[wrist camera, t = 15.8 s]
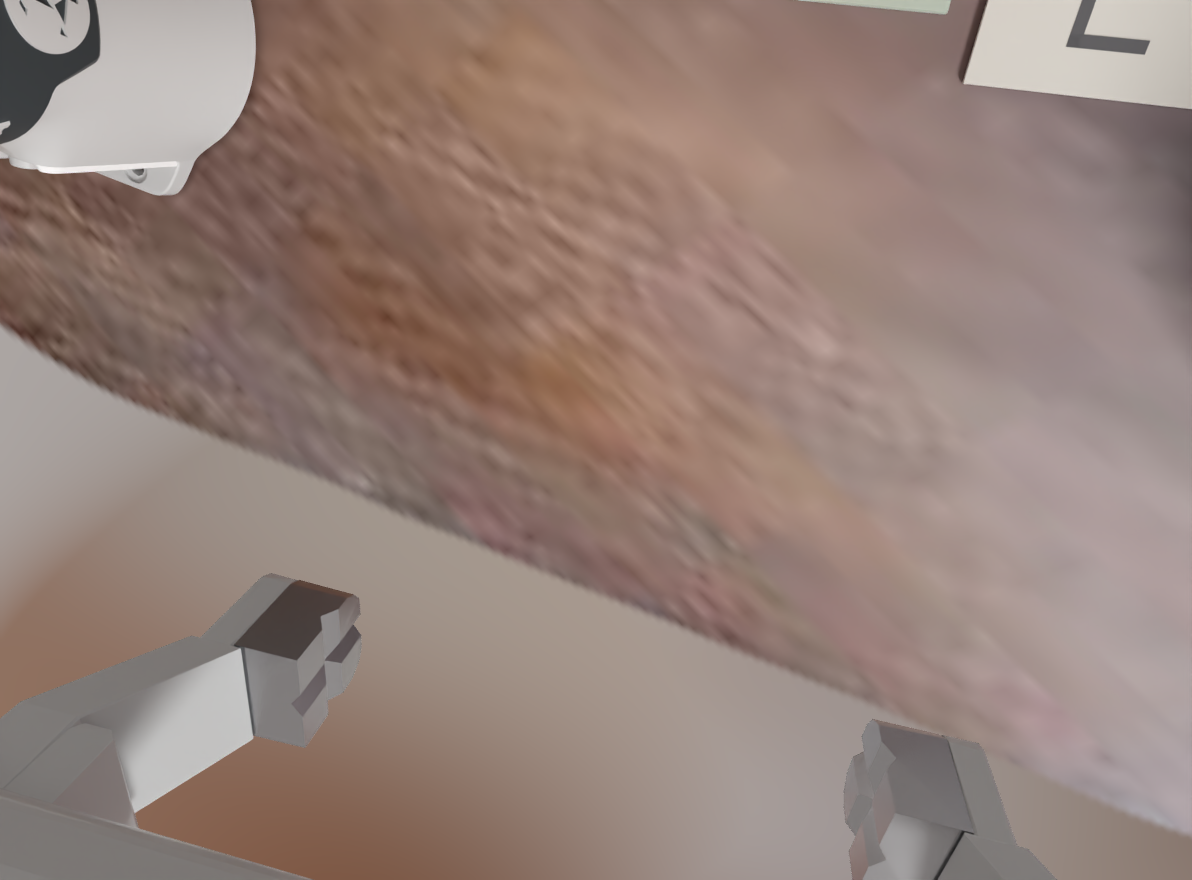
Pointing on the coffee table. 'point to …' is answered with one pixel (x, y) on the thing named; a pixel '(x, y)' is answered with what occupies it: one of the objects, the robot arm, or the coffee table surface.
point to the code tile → (1087, 49)
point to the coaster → (897, 4)
